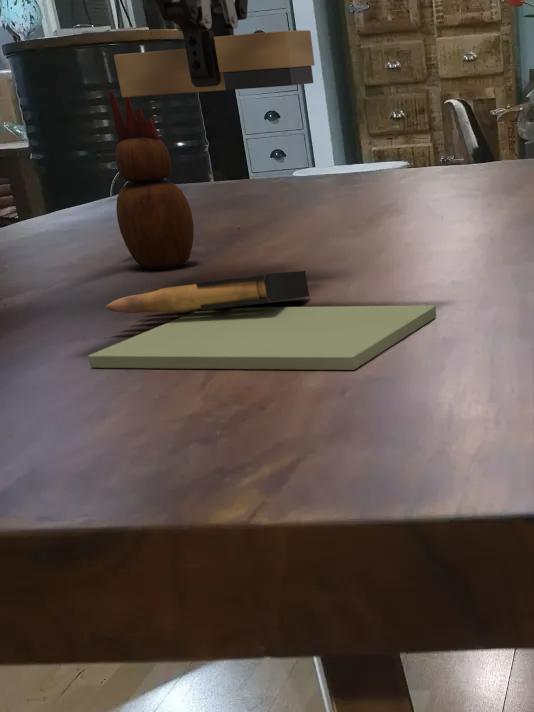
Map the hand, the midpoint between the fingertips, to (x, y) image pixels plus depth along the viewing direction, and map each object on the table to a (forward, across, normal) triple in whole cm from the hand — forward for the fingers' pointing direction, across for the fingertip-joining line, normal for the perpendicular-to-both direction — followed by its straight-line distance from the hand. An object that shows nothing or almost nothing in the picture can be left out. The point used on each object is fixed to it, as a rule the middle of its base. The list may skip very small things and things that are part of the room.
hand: (217, 84), depth 86 cm
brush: (0, 0, 0) cm, 0 cm away
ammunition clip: (+13, -13, -10) cm, 21 cm away
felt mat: (+15, -22, -13) cm, 29 cm away
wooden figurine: (+15, +9, +14) cm, 22 cm away
